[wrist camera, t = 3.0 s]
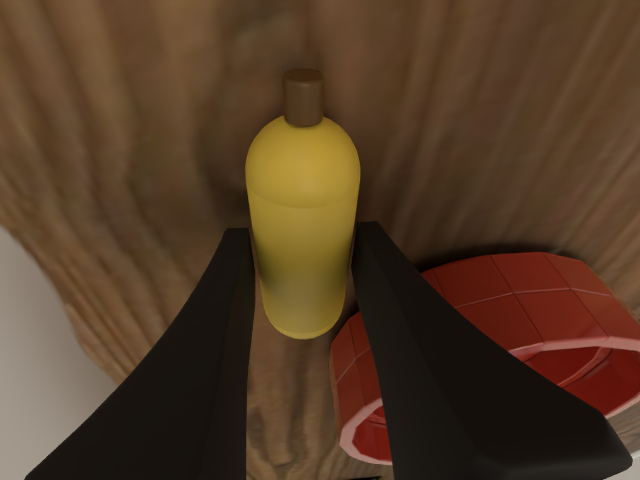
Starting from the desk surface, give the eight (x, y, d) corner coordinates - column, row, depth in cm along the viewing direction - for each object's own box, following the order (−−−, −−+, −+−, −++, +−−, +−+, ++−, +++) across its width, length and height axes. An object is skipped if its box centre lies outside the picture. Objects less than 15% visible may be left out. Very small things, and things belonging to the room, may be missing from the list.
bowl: (520, 378, 25) (558, 449, 22) (323, 398, 23) (332, 477, 20) (662, 233, 15) (771, 322, 12) (336, 251, 14) (358, 359, 10)
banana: (335, 288, 15) (346, 351, 13) (266, 292, 15) (265, 358, 13) (358, 51, 9) (389, 99, 6) (235, 51, 8) (225, 101, 6)
